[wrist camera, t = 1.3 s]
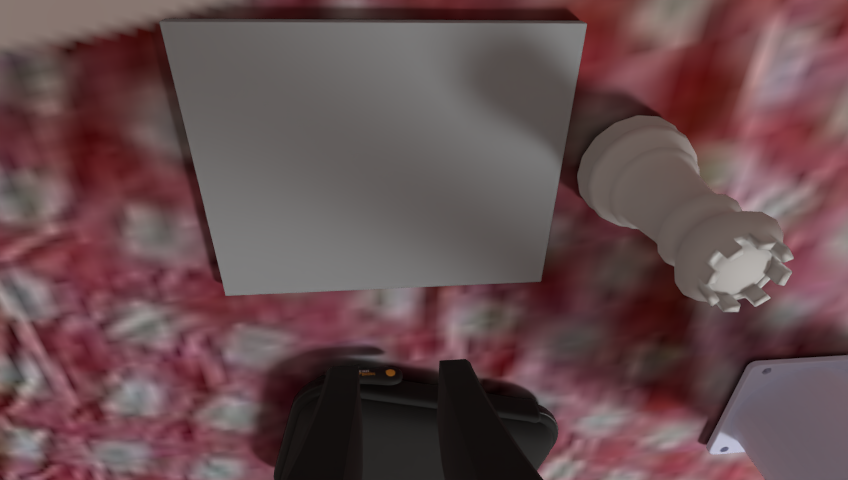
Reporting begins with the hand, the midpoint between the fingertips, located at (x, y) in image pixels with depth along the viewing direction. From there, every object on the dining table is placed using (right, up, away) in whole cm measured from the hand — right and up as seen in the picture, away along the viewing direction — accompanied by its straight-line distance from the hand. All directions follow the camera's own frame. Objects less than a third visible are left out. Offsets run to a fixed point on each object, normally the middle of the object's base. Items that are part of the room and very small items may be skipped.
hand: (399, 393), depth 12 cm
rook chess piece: (+9, +7, +9) cm, 15 cm away
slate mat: (-1, +6, +8) cm, 10 cm away
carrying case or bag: (0, -7, +18) cm, 19 cm away
